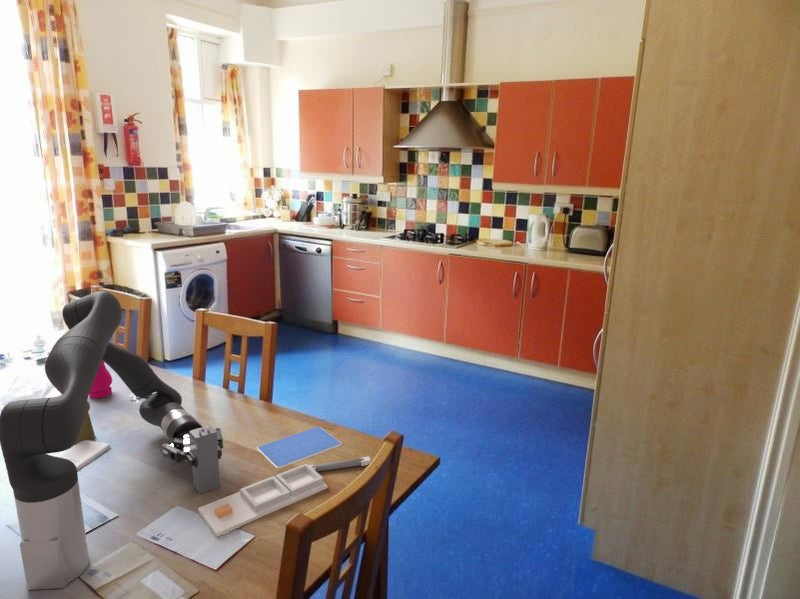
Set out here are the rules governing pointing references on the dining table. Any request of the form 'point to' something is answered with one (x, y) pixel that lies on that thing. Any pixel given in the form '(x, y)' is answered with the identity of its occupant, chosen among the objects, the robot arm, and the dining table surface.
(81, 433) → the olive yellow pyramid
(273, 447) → the tablet computer
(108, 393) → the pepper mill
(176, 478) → the dining table surface
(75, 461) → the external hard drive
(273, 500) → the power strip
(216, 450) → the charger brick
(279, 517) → the dining table surface
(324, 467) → the grey bar
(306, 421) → the dining table surface
